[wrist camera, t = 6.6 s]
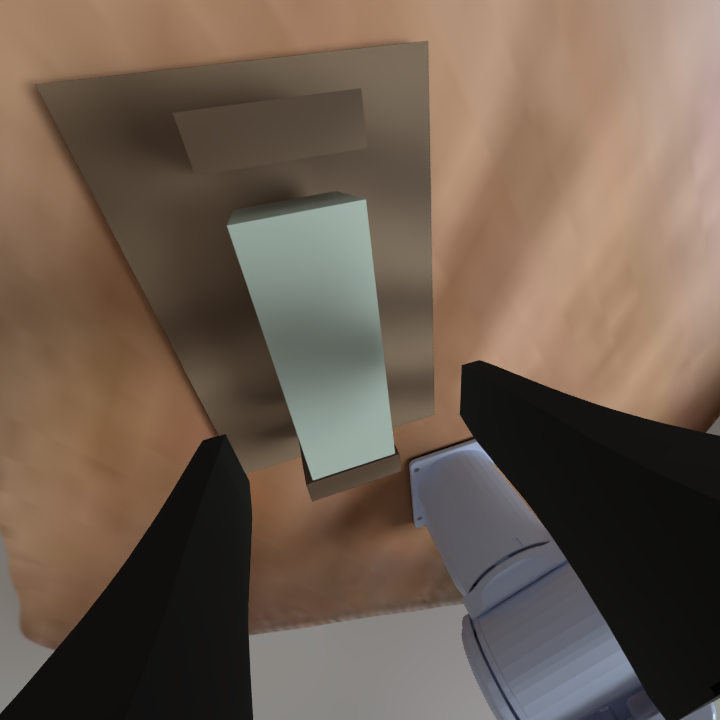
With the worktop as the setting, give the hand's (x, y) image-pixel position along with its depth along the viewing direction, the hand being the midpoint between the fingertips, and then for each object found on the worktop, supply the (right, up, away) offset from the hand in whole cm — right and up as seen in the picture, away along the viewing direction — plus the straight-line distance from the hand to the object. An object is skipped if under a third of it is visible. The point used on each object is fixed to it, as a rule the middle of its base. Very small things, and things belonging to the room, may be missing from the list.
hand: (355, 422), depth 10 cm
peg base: (-3, +5, +8) cm, 10 cm away
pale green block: (-2, +3, +6) cm, 7 cm away
